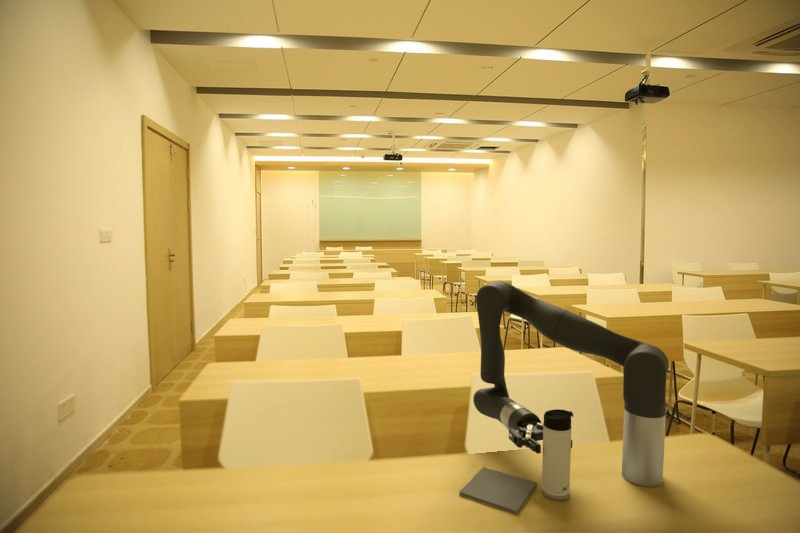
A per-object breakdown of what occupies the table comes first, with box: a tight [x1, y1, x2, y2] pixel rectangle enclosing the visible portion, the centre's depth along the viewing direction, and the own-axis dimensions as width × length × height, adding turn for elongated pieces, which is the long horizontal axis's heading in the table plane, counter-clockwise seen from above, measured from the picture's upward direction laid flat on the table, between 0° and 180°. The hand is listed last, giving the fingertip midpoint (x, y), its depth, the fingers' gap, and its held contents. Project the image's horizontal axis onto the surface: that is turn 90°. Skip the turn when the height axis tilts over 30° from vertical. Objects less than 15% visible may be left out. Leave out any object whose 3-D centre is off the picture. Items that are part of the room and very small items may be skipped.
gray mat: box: [458, 466, 538, 515], centre depth 116 cm, size 14×14×1 cm
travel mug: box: [541, 408, 574, 502], centre depth 114 cm, size 6×7×20 cm
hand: (555, 447), depth 114 cm, fingers open, 8 cm apart
